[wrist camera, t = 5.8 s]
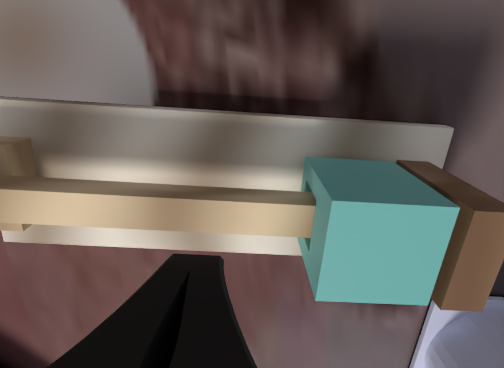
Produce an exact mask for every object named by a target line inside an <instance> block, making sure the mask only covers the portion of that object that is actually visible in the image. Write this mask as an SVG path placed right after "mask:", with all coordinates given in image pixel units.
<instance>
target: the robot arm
mask: <svg viewBox="0 0 504 368" xmlns="http://www.w3.org/2000/svg"><path fill="white" fill-rule="evenodd" d="M223 266H224V260H223V259H222V258H221V257H220V256H211V255H191V254H173V255H171V256H170V257H169V258H168V259H167V260H166V261H165V262H164V263H163V264H162V265H161V267H160V268H159V269H158V270H157V271H156V272H155V273H154V274H153V275H152V276H151V277H150V278H149V279H148V280H147V281H146V282H145V283H144V284H143V285H142V286H141V287H140V288H139V289H138V290H137V291H136V292H135V293H134V294H133V295H132V296H131V297H130V298H129V299H128V300H127V301H126V302H125V303H123V304H122V305H121V306H120V307H119V308H118V309H117V310H116V311H115V312H114V313H113V314H111V315H110V316H109V317H108V318H107V319H106V320H105V321H103V322H102V323H101V324H100V325H99V326H98V327H97V328H95V329H94V330H93V331H92V332H91V333H90V334H89V335H87V336H86V337H85V338H84V339H82V340H81V341H80V342H79V343H78V344H76V345H75V346H74V347H73V348H71V349H70V350H69V351H68V352H66V353H65V354H64V355H63V356H61V357H60V358H59V359H57V360H56V361H55V362H53V363H52V364H51V365H49V366H48V367H47V368H257V366H256V364H255V362H254V360H253V358H252V356H251V353H250V351H249V349H248V347H247V344H246V342H245V339H244V337H243V335H242V332H241V330H240V327H239V324H238V322H237V319H236V316H235V313H234V310H233V307H232V304H231V301H230V298H229V294H228V290H227V286H226V282H225V277H224V269H223ZM409 368H504V297H493V296H489V297H488V299H487V302H486V304H485V307H484V309H483V312H477V311H453V310H440V309H439V308H438V306H437V305H436V304H435V302H434V301H433V300H432V301H431V304H430V307H429V310H428V313H427V316H426V319H425V322H424V325H423V328H422V331H421V334H420V337H419V340H418V343H417V346H416V349H415V352H414V355H413V358H412V361H411V364H410V367H409Z"/></svg>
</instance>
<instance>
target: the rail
mask: <svg viewBox="0 0 504 368" xmlns="http://www.w3.org/2000/svg"><path fill="white" fill-rule="evenodd" d="M453 131H454V128H452V127H449V126H446V125H436V124H421V123H405V122H390V121H374V120H359V119H343V118H328V117H312V116H297V115H281V114H266V113H250V112H235V111H219V110H203V109H188V108H172V107H157V106H141V105H125V104H110V103H94V102H79V101H64V100H47V99H32V98H17V97H0V230H1V231H2V235H3V239H4V242H25V243H46V244H68V245H89V246H110V247H131V248H152V249H173V250H194V251H216V252H237V253H258V254H279V255H300V256H302V253H301V249H300V246H299V242H298V239H297V237H302V238H311V234H312V228H313V221H314V214H315V208H316V201H317V200H316V198H315V196H314V194H313V192H301V185H302V178H303V170H304V162H305V157H320V158H336V159H353V160H370V161H387V162H394V163H396V164H397V165H399V166H400V167H402V168H403V169H405V170H406V171H408V172H409V173H410V174H412V175H413V176H415V177H416V178H418V179H419V180H421V181H422V182H424V183H425V184H427V185H428V186H429V187H431V188H432V189H434V190H435V191H437V192H438V193H440V194H441V195H443V196H444V197H445V198H447V199H448V200H450V201H451V202H453V203H454V204H456V205H457V206H459V207H460V210H459V213H458V216H457V219H456V222H455V225H454V228H453V231H452V234H451V237H450V240H449V243H448V246H447V249H446V252H445V255H444V258H443V261H442V264H441V267H440V271H439V274H438V277H437V280H436V283H435V286H434V289H433V292H432V295H431V299H432V300H433V301H434V302H435V304H436V305H437V306H438V308H439V309H440V310H453V311H477V312H483V309H484V307H485V304H486V302H487V299H488V297H489V294H490V292H491V290H492V287H493V285H494V282H495V280H496V277H497V275H498V273H499V270H500V268H501V265H502V263H503V260H504V203H503V202H501V201H499V200H497V199H495V198H494V197H492V196H490V195H488V194H486V193H484V192H483V191H481V190H479V189H477V188H475V187H474V186H472V185H470V184H468V183H466V182H465V181H463V180H461V179H459V178H457V177H455V176H454V175H452V174H450V173H448V172H446V171H445V170H443V165H444V162H445V159H446V155H447V152H448V148H449V145H450V142H451V138H452V135H453Z"/></svg>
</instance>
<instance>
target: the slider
mask: <svg viewBox="0 0 504 368" xmlns="http://www.w3.org/2000/svg"><path fill="white" fill-rule="evenodd" d="M301 192H313V194H314V196H315V198H316V200H317V201H316V208H315V214H314V221H313V228H312V234H311V238H302V237H297V239H298V242H299V246H300V249H301V253H302V256H303V260H304V263H305V267H306V270H307V274H308V277H309V281H310V284H311V288H312V291H313V294H314V298H315V301H333V302H357V303H381V304H405V305H428V304H429V301H430V298H431V295H432V292H433V289H434V286H435V283H436V280H437V277H438V274H439V271H440V267H441V264H442V261H443V258H444V255H445V252H446V249H447V246H448V243H449V240H450V237H451V234H452V231H453V228H454V225H455V222H456V219H457V216H458V213H459V210H460V207H459V206H457V205H456V204H454V203H453V202H451V201H450V200H448V199H447V198H445V197H444V196H443V195H441V194H440V193H438V192H437V191H435V190H434V189H432V188H431V187H429V186H428V185H427V184H425V183H424V182H422V181H421V180H419V179H418V178H416V177H415V176H413V175H412V174H410V173H409V172H408V171H406V170H405V169H403V168H402V167H400V166H399V165H397V164H396V163H394V162H387V161H370V160H353V159H336V158H320V157H305V162H304V170H303V178H302V185H301Z"/></svg>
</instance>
